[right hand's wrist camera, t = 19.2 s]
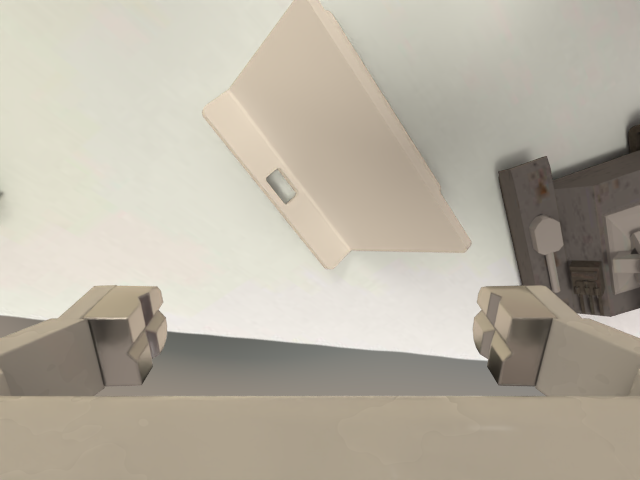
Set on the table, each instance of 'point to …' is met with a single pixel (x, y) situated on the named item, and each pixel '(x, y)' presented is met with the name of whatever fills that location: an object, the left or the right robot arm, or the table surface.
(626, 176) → the toy
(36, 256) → the table surface
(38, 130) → the table surface
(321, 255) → the tablet stand
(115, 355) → the right robot arm
